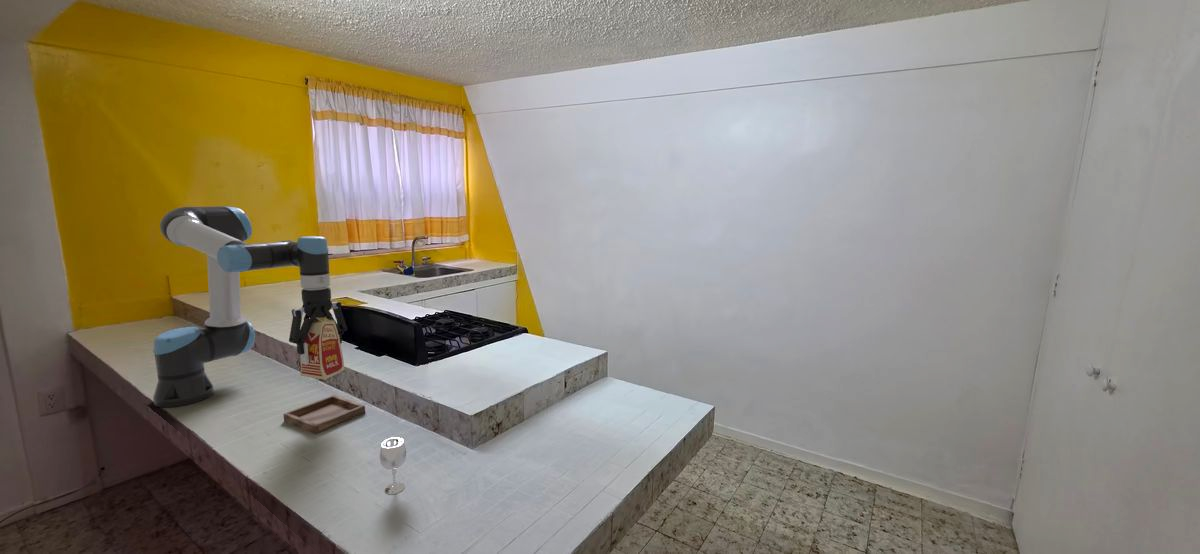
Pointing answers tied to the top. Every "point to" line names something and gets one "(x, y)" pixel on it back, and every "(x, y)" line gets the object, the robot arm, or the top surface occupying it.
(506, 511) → the top surface
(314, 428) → the tray
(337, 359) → the milk carton
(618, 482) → the top surface
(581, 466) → the top surface
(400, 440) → the wineglass
